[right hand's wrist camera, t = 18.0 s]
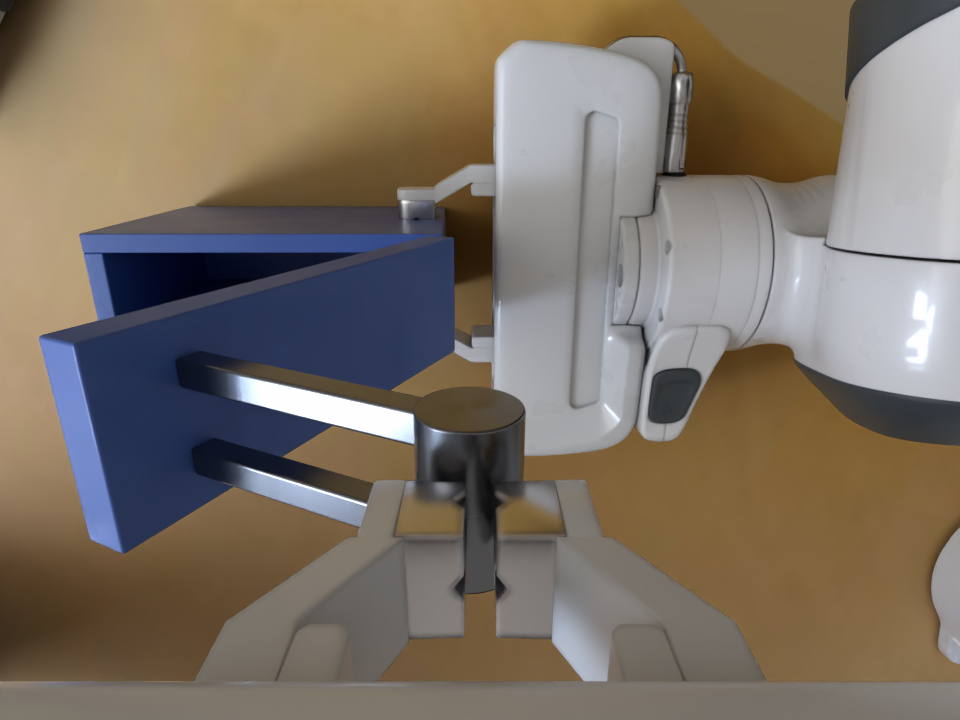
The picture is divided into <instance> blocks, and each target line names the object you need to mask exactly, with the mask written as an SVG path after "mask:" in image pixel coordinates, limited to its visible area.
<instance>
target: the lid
mask: <svg viewBox="0 0 960 720" xmlns="http://www.w3.org/2000/svg"><path fill="white" fill-rule="evenodd" d="M39 341H40V345H41V348H42V352H43V356H44V360H45V364H46V368H47V372H48V376H49V380H50V384H51V388H52V391H53V395H54V399H55V403H56V407H57V411H58V415H59V419H60V423H61V427H62V431H63V434H64V438H65V442H66V446H67V450H68V454H69V458H70V462H71V466H72V470H73V474H74V477H75V481H76V485H77V489H78V493H79V497H80V501H81V505H82V509H83V513H84V516H85V520H86V524H87V528H88V532H89V536H90V539H91V540H92V541H95V542H97V543H99V544H101V545H104V546H106V547H108V548H111V549H113V550H115V551H117V552H120V553H126V552H128V551H130V550H131V549H133V548H135V547H136V546H138V545H139V544H141V543H143V542H144V541H146V540H148V539H149V538H151V537H152V536H154V535H156V534H157V533H159V532H161V531H162V530H164V529H165V528H167V527H169V526H170V525H172V524H174V523H175V522H177V521H178V520H180V519H182V518H183V517H185V516H187V515H188V514H190V513H191V512H193V511H195V510H196V509H198V508H200V507H201V506H203V505H204V504H206V503H208V502H209V501H211V500H213V499H214V498H216V497H217V496H219V495H221V494H222V493H224V492H226V491H227V490H229V489H230V488H232V487H237V488H240V489H243V490H246V491H249V492H252V493H255V494H258V495H261V496H264V497H267V498H270V499H273V500H276V501H279V502H282V503H285V504H288V505H291V506H294V507H297V508H300V509H303V510H306V511H309V512H312V513H315V514H318V515H321V516H324V517H327V518H330V519H334V520H337V521H340V522H343V523H346V524H349V525H352V526H355V527H358V528H360V525H361V522H362V519H363V516H364V513H365V509H366V506H367V503H368V500H369V497H370V493H371V490H372V487H373V483H370V482H366V481H363V480H359V479H356V478H352V477H349V476H345V475H342V474H338V473H335V472H332V471H328V470H325V469H321V468H318V467H314V466H311V465H307V464H304V463H300V462H297V461H294V460H290V459H287V458H283V456H284V455H286V454H287V453H289V452H291V451H292V450H294V449H296V448H297V447H299V446H300V445H302V444H304V443H305V442H307V441H309V440H310V439H312V438H313V437H315V436H317V435H318V434H320V433H322V432H323V431H325V430H326V429H328V428H330V427H331V426H337V427H341V428H345V429H349V430H353V431H357V432H361V433H365V434H369V435H373V436H377V437H381V438H385V439H389V440H393V441H397V442H401V443H405V444H409V445H413V446H414V453H415V480H428V481H466V504H467V505H466V528H467V567H466V594H477V593H484V592H488V591H492V590H494V589H495V585H494V482H512V481H523V480H524V452H525V423H526V409H525V407H524V405H523V403H522V402H521V401H520V400H519V399H518V398H516V397H515V396H513V395H511V394H509V393H506V392H503V391H500V390H496V389H491V388H483V387H456V388H449V389H444V390H439V391H436V392H433V393H430V394H428V395H426V396H424V397H423V398H422V397H418V396H413V395H408V394H403V393H399V392H394V391H390V390H392V389H393V388H395V387H396V386H398V385H400V384H401V383H403V382H405V381H406V380H408V379H409V378H411V377H413V376H414V375H416V374H418V373H419V372H421V371H422V370H424V369H426V368H427V367H429V366H431V365H432V364H434V363H435V362H437V361H439V360H440V359H442V358H444V357H445V356H447V355H448V354H450V353H452V352H453V351H454V350H455V310H454V238H452V237H441V236H426V237H422V238H418V239H415V240H411V241H407V242H403V243H399V244H395V245H391V246H387V247H383V248H379V249H376V250H372V251H368V252H364V253H360V254H356V255H352V256H348V257H344V258H341V259H337V260H333V261H329V262H325V263H321V264H317V265H313V266H309V267H305V268H302V269H298V270H294V271H290V272H286V273H282V274H278V275H274V276H270V277H267V278H263V279H259V280H255V281H251V282H247V283H243V284H239V285H235V286H231V287H228V288H224V289H220V290H216V291H212V292H208V293H204V294H200V295H196V296H192V297H189V298H185V299H181V300H177V301H173V302H169V303H165V304H161V305H157V306H154V307H150V308H146V309H142V310H138V311H134V312H130V313H126V314H122V315H118V316H115V317H111V318H107V319H103V320H99V321H95V322H91V323H87V324H83V325H80V326H76V327H72V328H68V329H64V330H60V331H56V332H52V333H48V334H44V335H42V336H40V337H39Z"/></svg>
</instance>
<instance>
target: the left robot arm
mask: <svg viewBox="0 0 960 720" xmlns="http://www.w3.org/2000/svg"><path fill="white" fill-rule="evenodd" d="M674 60H675V62H676V66H677V73H673V74H672V71H673V61H674ZM693 91H694V79H693V73H690V72H687V67H686V62H685V59H684V56H683V54H682V52H681V51H680V49H679V48H678V47H677V45H675V44H674V43H673V42H672V41H670V40H669V39H666V38H664V37H660V36H623V37H620V38H617V39H615V40H613V41H612V42H610V43H609V44H607V45H606V46H605V47H604V48H598V47H592V46H586V45H579V44H573V43H565V42H555V41H542V40H519V41H516V42H514V43H512V44H511V45H510V46H508V47H507V48H506V49H505V50H504V51H503V52H502V53H501V55H500V56H499V57H498V58H497V60H496V62H495V66H494V135H493V163H477V164H468V165H466V166H465V167H463V168H462V169H460V170H458V171H457V172H455V173H453V174H452V175H450V176H448V177H447V178H445V179H443V180H442V181H440V182H439V183H437V184H436V185H435V187H399V188H398V189H397V199H398V214H399V219H402V220H413V219H415V218H418V219H419V220H435V217H436V203H437V202H439V201H441V200H442V199H444V198H446V197H447V196H449V195H451V194H453V193H454V192H456V191H458V190H459V189H461V188H463V187H464V186H466V185H468V184H469V183H471V187H470V190H471V194H472V195H473V196H493V269H492V325H473V326H472V327H471V336H470V335H469V334H467V333H465V332H463V331H461V330H459V329H457V328H455V350H454V351H453V352H454V353H456V354H457V355H459V356H461V357H463V358H465V359H466V360H468V361H470V362H492V389H496V390H500V391H503V392H506V393H509V394H511V395H513V396H515V397H516V398H518V399H519V400H520V401H521V402H522V403H523V405H524V407H525V409H526V423H525V452H524V456H546V455H562V454H573V453H582V452H590V451H597V450H601V449H605V448H609V447H611V446H614V445H616V444H618V443H619V442H621V441H622V440H624V439H625V438H626V437H627V436H628V435H629V434H630V432H631V431H632V429H633V427H634V426H635V428H636V429H637V430H638V432H639V433H640V434H641V435H642V436H643V437H644V438H645V439H647V440H650V441H670V440H673V439H675V438H677V437H678V436H679V435H680V433H681V432H682V430H683V429H684V427H685V425H686V423H687V421H688V419H689V417H690V414H691V412H692V410H693V408H694V406H695V404H696V402H697V400H698V398H699V396H700V394H701V392H702V390H703V388H704V386H705V384H706V382H707V380H708V379H709V377H710V375H711V373H712V371H713V370H714V368H715V366H716V365H717V363H718V361H719V360H720V358H721V356H722V355H723V353H724V351H733V350H739V349H744V348H747V347H751V346H755V345H760V344H781V345H785V346H788V347H790V348H791V349H792V351H793V353H794V357H793V360H794V362H795V363H796V365H797V366H798V367H799V369H800V370H801V371H802V372H803V373H804V375H805V376H806V377H807V378H808V379H809V380H810V381H811V382H812V383H813V384H814V385H815V386H816V387H817V388H818V389H819V390H820V391H821V392H822V393H823V394H824V395H825V396H826V397H827V398H828V400H829V401H830V402H831V403H832V404H833V405H834V406H835V407H836V408H837V409H838V410H839V411H840V412H841V413H842V414H843V415H845V416H846V417H847V418H849V419H850V420H852V421H853V422H855V423H857V424H859V425H861V426H863V427H865V428H867V429H869V430H872V431H874V432H876V433H879V434H882V435H885V436H889V437H893V438H898V439H903V440H909V441H915V442H923V443H932V444H944V445H959V446H960V0H856V1H855V2H854V4H853V6H852V8H851V10H850V20H849V36H848V52H847V68H846V84H845V98H846V101H847V107H846V113H845V120H844V127H843V133H842V140H841V146H840V153H839V160H838V166H837V173H836V175H822V176H817V177H813V178H810V179H807V180H803V181H800V182H794V183H779V182H774V181H770V180H767V179H764V178H761V177H758V176H752V175H686V174H684V173H685V164H686V153H687V144H688V134H687V132H688V128H687V126H688V122H687V120H688V116H689V115H688V114H689V106H690V104H691V103H692V99H693ZM662 172H663V173H662ZM656 173H662V174H661V175H656ZM931 595H932V600H933V604H934V607H935V609H936V611H937V614H938V616H939V619H940V624H941V625H940V631H939V637H938V649H939V651H940V652H941V653H942V654H943V655H944V656H946V657H947V658H948V659H949V660H950V661H951V662H953V663H957V664H960V527H959V528H958V529H957V530H956V531H955V533H954V534H953V535H952V536H951V537H950V539H949V540H948V542H947V543H946V545H945V546H944V548H943V549H942V551H941V553H940V555H939V557H938V559H937V561H936V564H935V567H934V570H933V574H932V580H931Z"/></svg>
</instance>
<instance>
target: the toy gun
mask: <svg viewBox="0 0 960 720" xmlns="http://www.w3.org/2000/svg"><path fill="white" fill-rule="evenodd" d="M14 1H15V0H0V23H1V21H2V19H3V17H4V15H5V12H10V11H11V9H12V6H13V3H14Z"/></svg>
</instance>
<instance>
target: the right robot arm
mask: <svg viewBox="0 0 960 720" xmlns="http://www.w3.org/2000/svg"><path fill="white" fill-rule="evenodd" d="M466 505H467V504H466V481H428V480H407V481H406V480H377V481H376V482H375V483H374V484H373V487H372V490H371V493H370V497H369V500H368V503H367V506H366V509H365V513H364V516H363V519H362V522H361V525H360V529H359V532H358V535H357V537H348V538H346V539H345V540H343V541H342V542H341V543H339V544H338V545H336V546H335V547H333V548H332V549H330V550H329V551H327V552H326V553H325V554H323V555H322V556H320V557H319V558H317V559H316V560H314V561H313V562H311V563H310V564H309V565H307V566H306V567H304V568H303V569H301V570H300V571H298V572H297V573H295V574H294V575H293V576H291V577H290V578H288V579H287V580H285V581H284V582H282V583H281V584H279V585H278V586H277V587H275V588H274V589H272V590H271V591H269V592H268V593H266V594H265V595H264V596H262V597H261V598H259V599H258V600H256V601H255V602H253V603H252V604H250V605H249V606H248V607H246V608H245V609H243V610H242V611H240V612H239V613H237V614H236V615H234V616H233V617H232V618H230V619H229V620H227V621H226V622H225V624H224V626H223V628H222V630H221V631H220V633H219V635H218V637H217V639H216V641H215V643H214V645H213V646H212V648H211V650H210V652H209V654H208V656H207V658H206V659H205V661H204V663H203V665H202V667H201V669H200V671H199V673H198V674H197V676H196V678H195V680H194V681H0V720H960V681H766V679H765V677H764V675H763V673H762V671H761V669H760V667H759V665H758V664H757V662H756V660H755V658H754V656H753V654H752V652H751V650H750V648H749V647H748V645H747V643H746V641H745V639H744V637H743V635H742V633H741V631H740V630H739V628H738V626H737V624H736V622H734V621H733V620H732V619H730V618H729V617H727V616H726V615H724V614H723V613H721V612H720V611H718V610H717V609H716V608H714V607H713V606H711V605H710V604H708V603H707V602H705V601H704V600H703V599H701V598H700V597H698V596H697V595H695V594H694V593H692V592H691V591H690V590H688V589H687V588H685V587H684V586H682V585H681V584H679V583H678V582H676V581H675V580H674V579H672V578H671V577H669V576H668V575H666V574H665V573H663V572H662V571H661V570H659V569H658V568H656V567H655V566H653V565H652V564H650V563H649V562H648V561H646V560H645V559H643V558H642V557H640V556H639V555H637V554H636V553H635V552H633V551H632V550H630V549H629V548H627V547H626V546H624V545H623V544H621V543H620V542H619V541H617V540H616V539H614V538H613V537H603V533H602V530H601V527H600V524H599V521H598V518H597V515H596V511H595V508H594V505H593V502H592V499H591V496H590V493H589V489H588V486H587V483H586V481H584V480H583V479H580V480H556V481H554V480H552V481H512V482H494V585H495V619H496V638H530V639H552V643H553V644H554V645H555V646H556V648H557V649H558V650H559V651H560V653H561V654H562V655H563V656H564V657H565V659H566V660H567V661H568V662H569V664H570V665H571V666H572V667H573V669H574V670H575V671H576V672H577V674H578V675H579V676H580V677H581V679H582V680H583V681H378V680H379V678H380V677H381V676H382V675H383V673H384V672H385V671H386V670H387V669H388V667H389V666H390V665H391V664H392V662H393V661H394V660H395V659H396V657H397V656H398V655H399V654H400V652H401V651H402V650H403V649H404V648H405V646H406V645H407V644H408V643H409V639H429V638H464V631H465V606H466V567H467V528H466Z"/></svg>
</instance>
